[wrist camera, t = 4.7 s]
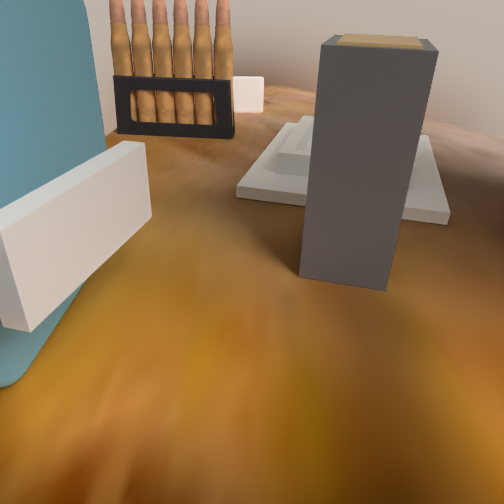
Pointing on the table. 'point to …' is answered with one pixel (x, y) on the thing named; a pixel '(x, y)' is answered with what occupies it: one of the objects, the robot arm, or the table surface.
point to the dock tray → (297, 171)
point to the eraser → (248, 94)
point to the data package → (43, 125)
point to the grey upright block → (363, 154)
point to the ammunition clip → (163, 80)
